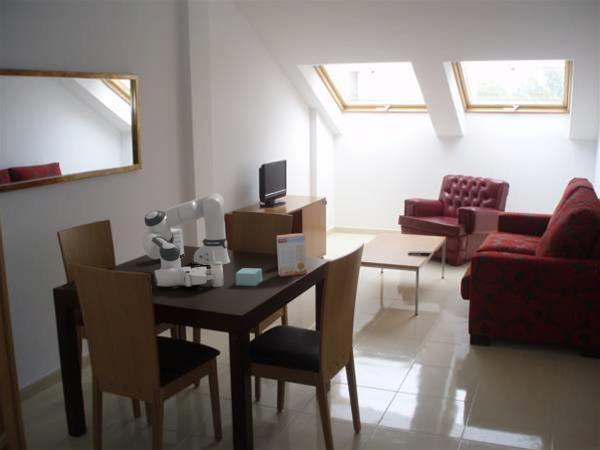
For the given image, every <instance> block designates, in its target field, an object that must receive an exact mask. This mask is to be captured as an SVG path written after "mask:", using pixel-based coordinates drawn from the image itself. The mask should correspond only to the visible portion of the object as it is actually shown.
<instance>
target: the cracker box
mask: <svg viewBox="0 0 600 450" xmlns="http://www.w3.org/2000/svg"><path fill="white" fill-rule="evenodd" d="M305 236H306V235H305V234H304V233H303V232H301V233H299V232H298V233H289V234H280V235H279V234H278V235H276V250H277V253H276V254H277V266H278V267H277V268H278V276H279V277H281V278H282V277H290V276H291V277H292V276H300V275H302V276H303V275H307V272H308V271H307V254H306V253H307V252H306V237H305Z"/></svg>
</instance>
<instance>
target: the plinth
mask: <svg viewBox="0 0 600 450" xmlns="http://www.w3.org/2000/svg"><path fill="white" fill-rule="evenodd" d="M263 281H264V279H263V269H262V268H253V267H251V268H249V267H248V268H247V267H243V268H241V269H239V270H238V271H237V272H236V273H235V286H249V287H250V286H251V287H256V286H258V285H259V284H260V283H262V282H263Z"/></svg>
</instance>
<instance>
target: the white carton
mask: <svg viewBox="0 0 600 450" xmlns="http://www.w3.org/2000/svg"><path fill="white" fill-rule="evenodd" d="M170 229H171V232H172V234H173V237H174V241H173V244H176V245H177V246H178V247H179V248H180V255H182V254H184V255H185V249H184V248H185V247H184V240H183V229H182V228H170Z"/></svg>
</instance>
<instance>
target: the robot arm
mask: <svg viewBox="0 0 600 450" xmlns="http://www.w3.org/2000/svg"><path fill="white" fill-rule="evenodd" d="M224 207H225V198H224V196H222V194H220V193H217V192H213V193H209V194H205V195H203V196H200V197H198V198H194V199H192V200H190V201H186V202H183V203H181V204H177V205H174V206H172V207H169V208H167V209H165V210H163V211H162V210H152V211H150V212H148V213H146V215H145V216H144V223H145V226H146V228H147V232H145V233H143V234H142V235H141V237H140V246H141V248H142V250H143V252H144V253H145V254H146V255H147V256H148V257H149V258H150V259H152V260H159V259H160V264H161V267H160V268H159V269H156V270H154V271H153V279H154V283H155V285H156V286H158V287H174V286H185V287H192V286H196V285H203V284H206V283H207V281H209V280H212V279H215V278H216V274H212V275H211V268H208V269H207V267H208V266H198V267H197V266H195V267H191V266H183V267H182V261H181V260H182V258H180V248H179V247H178V246H177V245H176V244H173V241H174V237H173V234H172V232H171V229H172V228H171V227H177V226H182V225H185V224H188V223H191V222H194V221H197V220H200V219H202V218H203V219H204V227H205V238H204V239H203V240H202V241H201V243H203V245H202V246H201V247H200V248H198V249H197V250H196V251H195V252H194V254H193V260H194V262H197V263H199V264H203V265H210V266H209V267H211V262H213V261H222V266H223V265H227V264H230V262H231V260H230V256H229V252H228V239H227V238H228V237H227V235H226V222H225V216H224Z"/></svg>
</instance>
